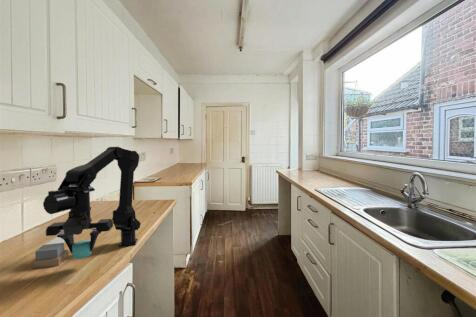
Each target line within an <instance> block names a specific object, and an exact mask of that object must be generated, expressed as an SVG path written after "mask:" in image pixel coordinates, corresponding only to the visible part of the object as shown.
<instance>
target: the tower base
mask: <svg viewBox="0 0 476 317" xmlns="http://www.w3.org/2000/svg"><path fill="white" fill-rule="evenodd" d="M68 257H69V249H64V251H63V252H62V254H61V255H60V256H59V257H58V258H51V259H42V260H36V257H35V258H34V259H33V260H32V261H31V268H32V269H41V268H51V267H59V266H60V265H61V264H62V263H64V261H65V260H66V259H67V258H68Z"/></svg>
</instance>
